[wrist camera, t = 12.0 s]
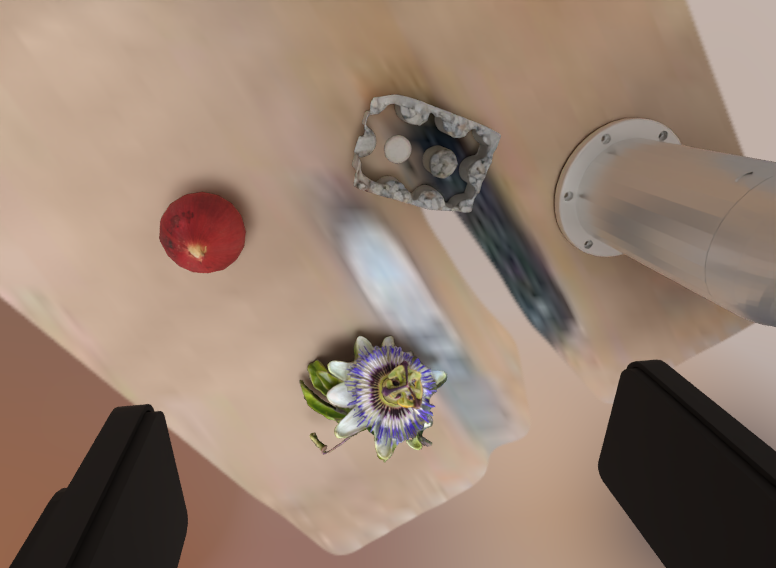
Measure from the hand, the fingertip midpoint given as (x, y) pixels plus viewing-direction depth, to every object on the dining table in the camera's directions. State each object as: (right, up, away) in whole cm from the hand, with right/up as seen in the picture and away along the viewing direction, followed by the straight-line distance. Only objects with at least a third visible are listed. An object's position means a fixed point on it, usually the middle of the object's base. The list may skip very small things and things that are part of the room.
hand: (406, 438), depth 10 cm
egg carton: (+2, +14, +29) cm, 32 cm away
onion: (-15, +9, +28) cm, 33 cm away
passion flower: (-2, -6, +37) cm, 38 cm away
